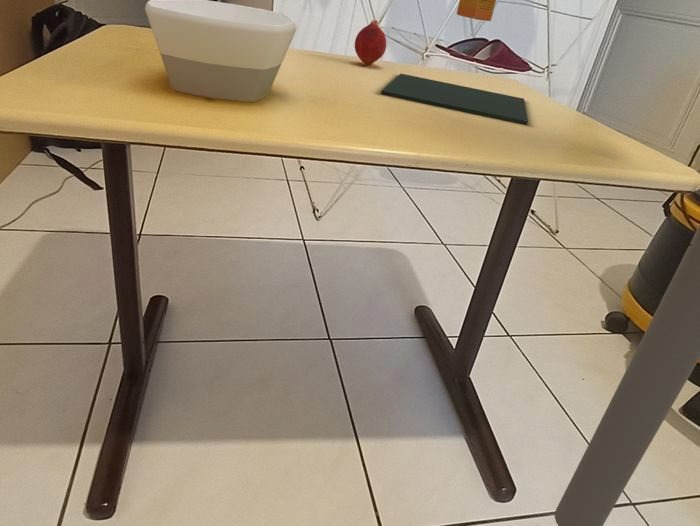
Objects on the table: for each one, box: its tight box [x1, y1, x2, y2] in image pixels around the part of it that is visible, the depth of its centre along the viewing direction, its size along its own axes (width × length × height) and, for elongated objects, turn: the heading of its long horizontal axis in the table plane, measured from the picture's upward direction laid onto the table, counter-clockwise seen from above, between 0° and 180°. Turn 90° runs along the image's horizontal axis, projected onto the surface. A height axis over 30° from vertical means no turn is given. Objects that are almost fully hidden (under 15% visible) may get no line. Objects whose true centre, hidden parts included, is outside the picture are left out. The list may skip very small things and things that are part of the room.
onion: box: [354, 19, 387, 67], centre depth 102 cm, size 6×6×8 cm
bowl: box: [144, 0, 297, 103], centre depth 70 cm, size 18×18×9 cm
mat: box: [380, 73, 529, 126], centre depth 90 cm, size 22×18×1 cm
